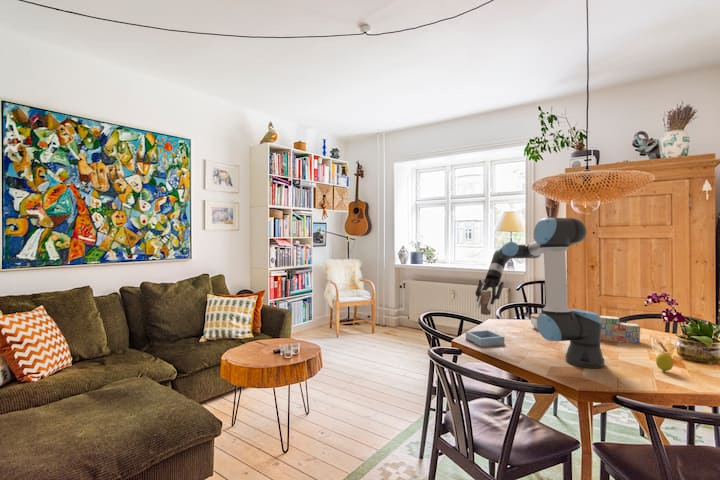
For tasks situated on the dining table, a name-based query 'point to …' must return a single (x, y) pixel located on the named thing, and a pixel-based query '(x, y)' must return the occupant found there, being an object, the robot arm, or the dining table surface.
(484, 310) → the brown rectangular block
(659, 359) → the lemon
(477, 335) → the bin
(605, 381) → the dining table surface
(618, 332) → the stack of blocks
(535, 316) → the lidded jar
